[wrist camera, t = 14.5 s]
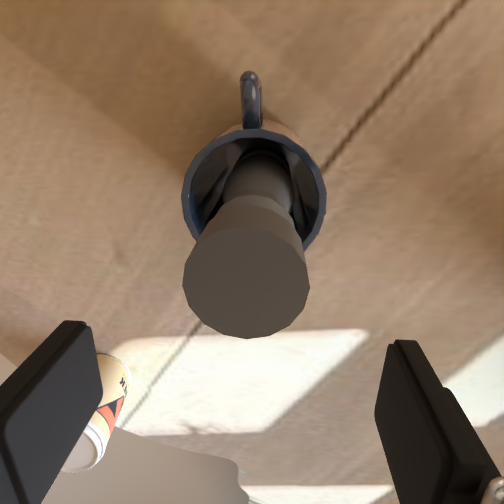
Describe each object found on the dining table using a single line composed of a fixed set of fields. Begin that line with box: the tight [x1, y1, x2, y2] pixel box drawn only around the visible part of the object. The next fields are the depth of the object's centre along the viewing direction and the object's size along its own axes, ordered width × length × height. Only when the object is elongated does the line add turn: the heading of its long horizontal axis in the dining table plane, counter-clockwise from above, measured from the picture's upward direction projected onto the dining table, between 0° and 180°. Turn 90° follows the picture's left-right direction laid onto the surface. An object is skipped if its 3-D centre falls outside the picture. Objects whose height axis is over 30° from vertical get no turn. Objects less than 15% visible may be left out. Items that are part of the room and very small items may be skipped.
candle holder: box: [182, 145, 310, 339], centre depth 27 cm, size 6×6×25 cm
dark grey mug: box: [181, 70, 327, 252], centre depth 33 cm, size 15×11×13 cm
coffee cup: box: [60, 354, 131, 473], centre depth 47 cm, size 9×9×12 cm
